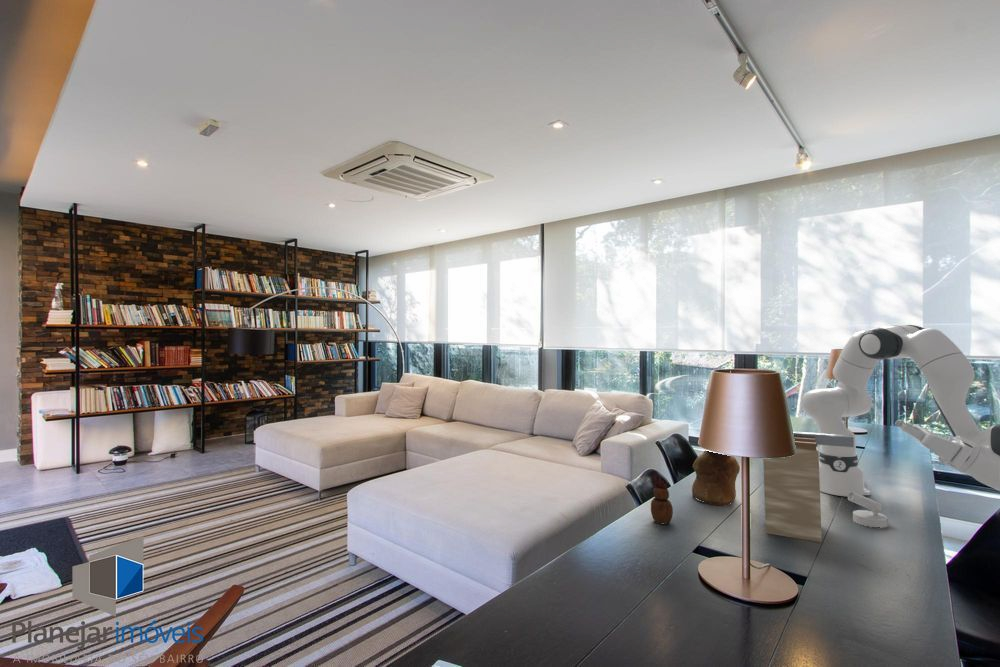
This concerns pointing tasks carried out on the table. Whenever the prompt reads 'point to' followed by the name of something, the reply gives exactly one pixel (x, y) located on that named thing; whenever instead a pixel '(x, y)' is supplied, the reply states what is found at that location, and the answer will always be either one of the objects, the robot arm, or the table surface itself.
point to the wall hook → (868, 512)
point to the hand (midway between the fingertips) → (899, 424)
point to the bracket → (828, 438)
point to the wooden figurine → (661, 503)
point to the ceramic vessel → (715, 478)
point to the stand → (794, 493)
